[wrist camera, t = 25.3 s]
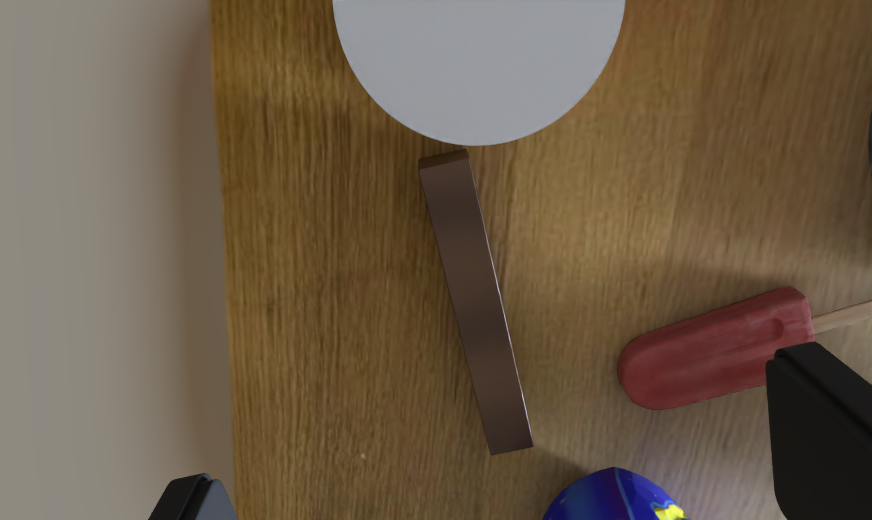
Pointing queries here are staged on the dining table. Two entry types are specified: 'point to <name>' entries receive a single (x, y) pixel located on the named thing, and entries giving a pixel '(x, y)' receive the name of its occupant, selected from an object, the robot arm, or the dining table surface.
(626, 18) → the dining table surface
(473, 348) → the stick
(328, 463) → the dining table surface
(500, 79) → the cup
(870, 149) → the bowl
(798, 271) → the dining table surface
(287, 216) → the dining table surface
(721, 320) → the popsicle
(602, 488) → the ornament
